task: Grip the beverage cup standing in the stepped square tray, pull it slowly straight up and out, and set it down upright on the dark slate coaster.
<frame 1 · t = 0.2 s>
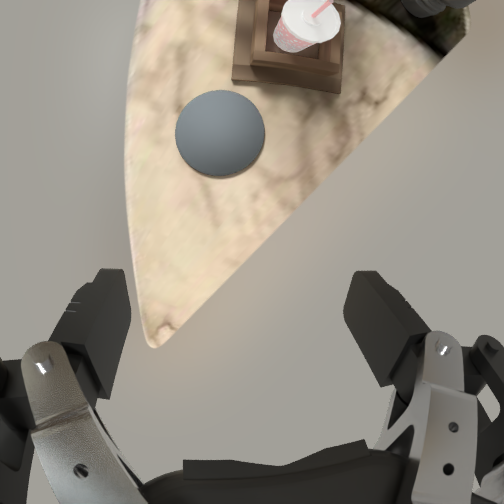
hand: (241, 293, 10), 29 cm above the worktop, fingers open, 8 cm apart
stepped square tray: (290, 37, 28), on the worktop
candle holder: (413, 2, 25), on the worktop
beverage cup: (290, 37, 28), resting in stepped square tray
slate coaster: (219, 132, 33), on the worktop
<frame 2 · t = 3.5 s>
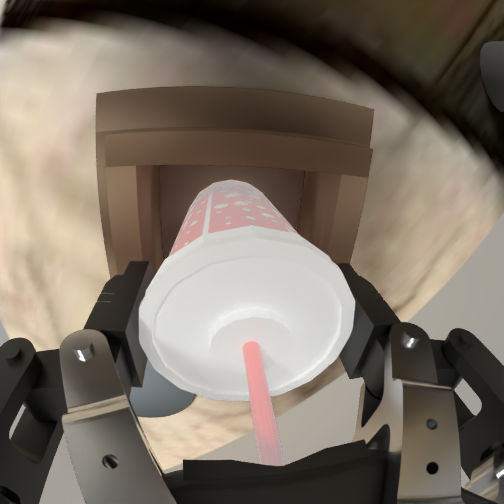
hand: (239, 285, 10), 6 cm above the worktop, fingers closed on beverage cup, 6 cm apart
stepped square tray: (230, 220, 15), on the worktop
candle holder: (498, 76, 12), on the worktop
beverage cup: (230, 219, 16), resting in stepped square tray, touching gripper
slate coaster: (130, 379, 21), on the worktop
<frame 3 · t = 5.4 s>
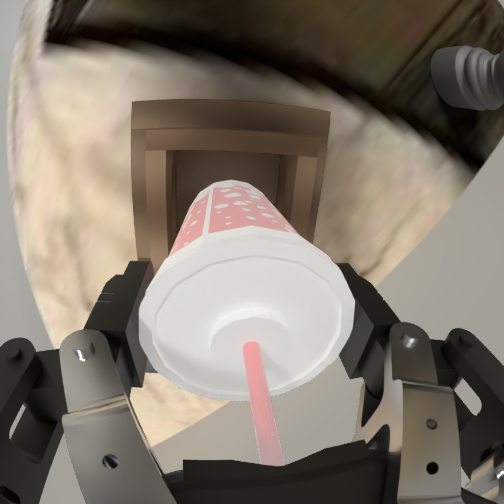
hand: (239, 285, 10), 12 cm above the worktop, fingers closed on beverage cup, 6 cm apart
stepped square tray: (226, 194, 21), on the worktop
candle holder: (451, 77, 18), on the worktop
beverage cup: (229, 219, 16), point 6 cm above the worktop, touching gripper
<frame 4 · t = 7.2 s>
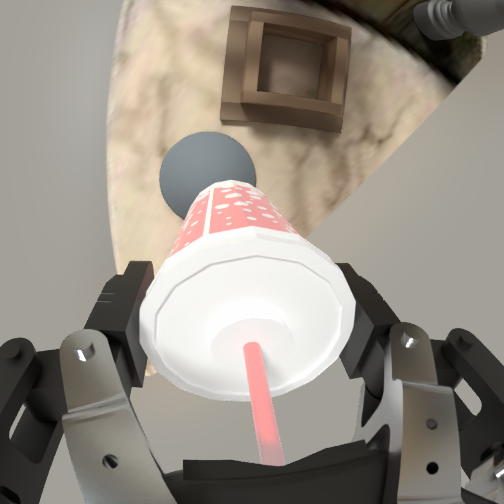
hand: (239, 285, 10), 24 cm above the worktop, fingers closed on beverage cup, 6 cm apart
stepped square tray: (288, 67, 27), on the worktop
candle holder: (428, 22, 23), on the worktop
beverage cup: (230, 220, 16), point 18 cm above the worktop, touching gripper
slate coaster: (207, 178, 32), on the worktop
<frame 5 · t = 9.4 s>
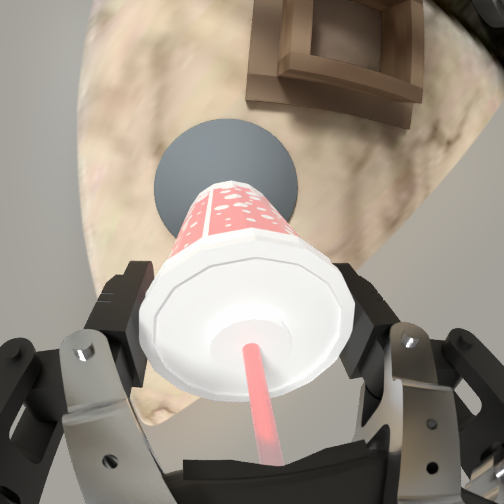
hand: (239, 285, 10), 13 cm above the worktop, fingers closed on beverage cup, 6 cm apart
stepped square tray: (340, 33, 16), on the worktop
candle holder: (484, 6, 13), on the worktop
beverage cup: (230, 220, 16), point 7 cm above the worktop, touching gripper
slate coaster: (225, 189, 22), on the worktop
when the fingers open (8 cm above the worktop, at t = 11.0 s): beverage cup drops 1 cm, resting on slate coaster.
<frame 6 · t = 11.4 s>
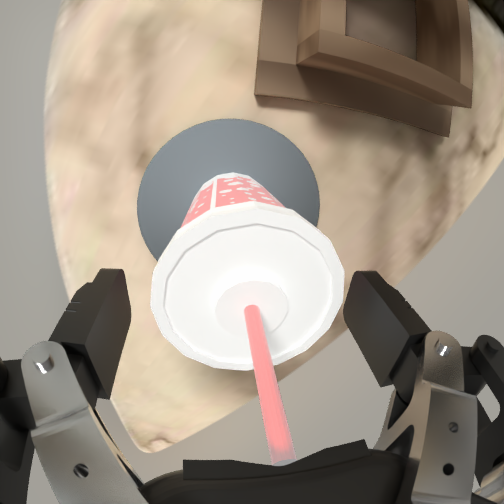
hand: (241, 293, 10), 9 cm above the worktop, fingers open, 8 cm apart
stepped square tray: (371, 17, 12), on the worktop
beverage cup: (231, 210, 17), resting on slate coaster
slate coaster: (228, 210, 17), on the worktop
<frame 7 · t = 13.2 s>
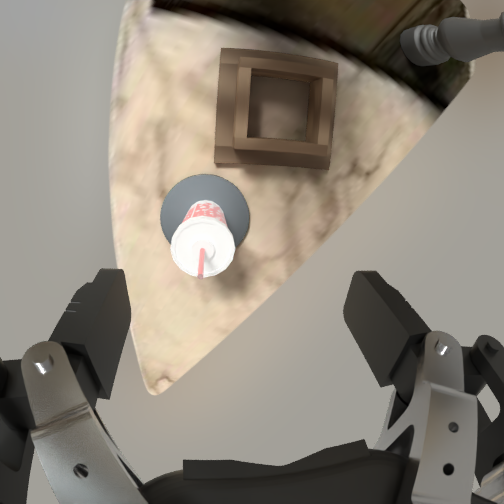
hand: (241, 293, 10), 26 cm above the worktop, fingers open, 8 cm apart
stepped square tray: (277, 107, 30), on the worktop
candle holder: (415, 47, 27), on the worktop
beverage cup: (205, 217, 35), resting on slate coaster
slate coaster: (204, 217, 35), on the worktop
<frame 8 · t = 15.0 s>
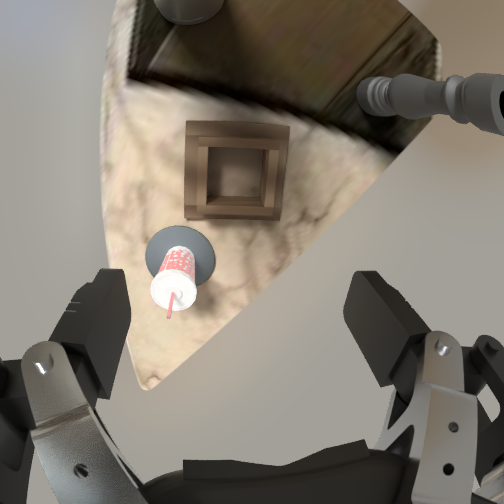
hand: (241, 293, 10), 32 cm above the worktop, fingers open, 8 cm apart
stepped square tray: (234, 170, 39), on the worktop
candle holder: (372, 96, 36), on the worktop
beverage cup: (180, 258, 44), resting on slate coaster
slate coaster: (179, 258, 44), on the worktop
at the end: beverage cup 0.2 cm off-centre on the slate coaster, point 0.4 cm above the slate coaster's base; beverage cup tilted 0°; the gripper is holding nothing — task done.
